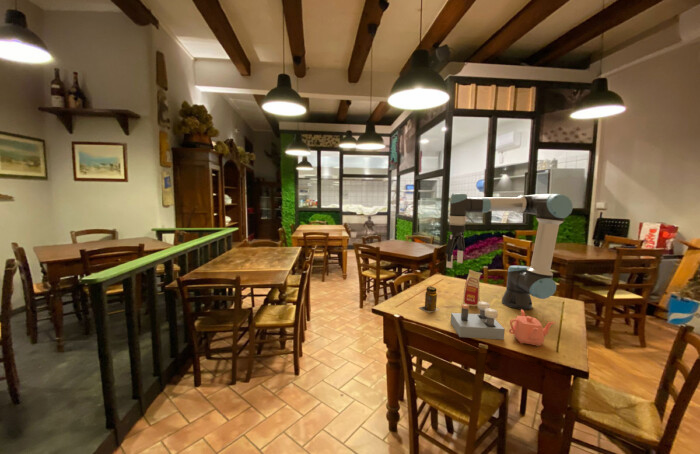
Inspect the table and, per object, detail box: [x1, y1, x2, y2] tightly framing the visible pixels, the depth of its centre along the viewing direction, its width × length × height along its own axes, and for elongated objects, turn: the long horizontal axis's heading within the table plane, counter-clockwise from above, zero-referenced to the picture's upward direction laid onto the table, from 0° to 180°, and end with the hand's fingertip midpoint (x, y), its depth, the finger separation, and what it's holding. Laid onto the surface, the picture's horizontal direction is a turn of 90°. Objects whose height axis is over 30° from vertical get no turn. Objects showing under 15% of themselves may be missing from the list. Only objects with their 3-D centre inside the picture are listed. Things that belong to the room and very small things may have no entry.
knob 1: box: [477, 301, 491, 319], centre depth 130 cm, size 5×5×8 cm
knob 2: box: [485, 307, 498, 327], centre depth 122 cm, size 5×5×8 cm
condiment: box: [419, 286, 440, 314], centre depth 150 cm, size 7×8×12 cm
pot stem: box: [460, 303, 470, 321], centre depth 127 cm, size 3×3×7 cm
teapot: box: [508, 309, 557, 346], centre depth 119 cm, size 14×14×11 cm
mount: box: [450, 312, 506, 341], centre depth 127 cm, size 19×14×5 cm
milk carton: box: [462, 269, 483, 308], centre depth 159 cm, size 9×9×20 cm
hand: (454, 265), depth 140 cm, fingers open, 13 cm apart
